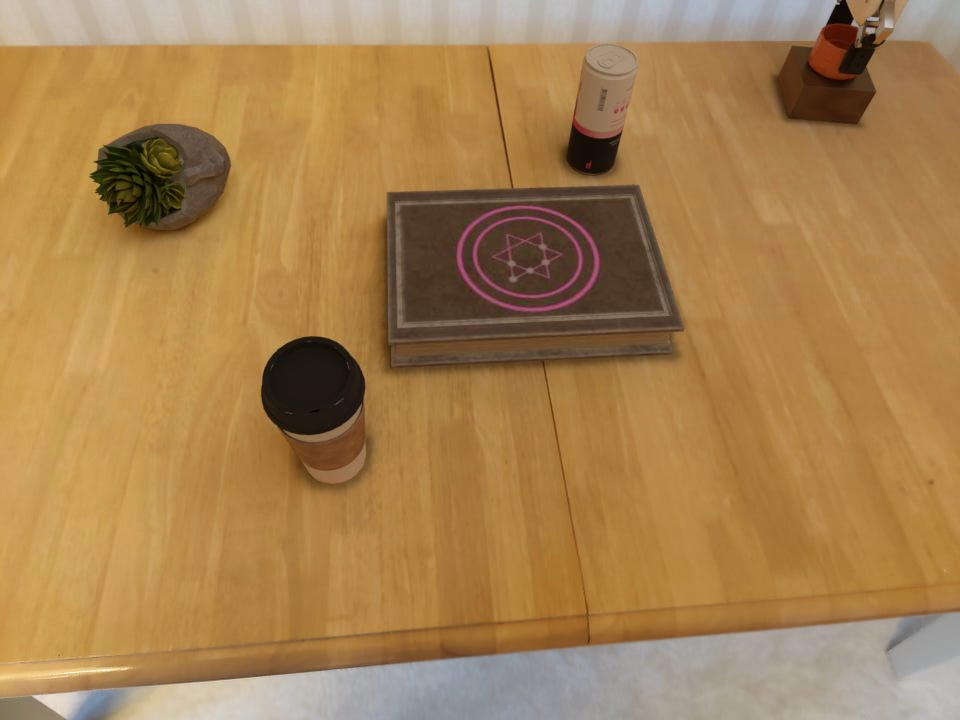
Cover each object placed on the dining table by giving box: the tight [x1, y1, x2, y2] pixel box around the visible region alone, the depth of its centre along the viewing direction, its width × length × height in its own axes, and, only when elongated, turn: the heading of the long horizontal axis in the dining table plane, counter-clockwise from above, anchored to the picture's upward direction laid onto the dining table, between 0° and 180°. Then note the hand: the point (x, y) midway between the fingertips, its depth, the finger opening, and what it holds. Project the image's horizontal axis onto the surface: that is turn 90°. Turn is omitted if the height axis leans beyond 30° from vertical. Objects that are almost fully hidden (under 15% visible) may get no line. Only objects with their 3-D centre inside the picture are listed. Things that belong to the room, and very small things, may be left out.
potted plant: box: [88, 123, 232, 231], centre depth 77 cm, size 12×13×15 cm
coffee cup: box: [260, 335, 367, 485], centre depth 59 cm, size 8×8×15 cm
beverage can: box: [566, 42, 639, 176], centre depth 85 cm, size 6×7×15 cm
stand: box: [777, 45, 877, 125], centre depth 98 cm, size 10×10×6 cm
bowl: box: [808, 23, 870, 80], centre depth 94 cm, size 7×7×4 cm
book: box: [386, 184, 686, 369], centre depth 76 cm, size 30×22×5 cm
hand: (841, 52), depth 94 cm, fingers open, 9 cm apart
